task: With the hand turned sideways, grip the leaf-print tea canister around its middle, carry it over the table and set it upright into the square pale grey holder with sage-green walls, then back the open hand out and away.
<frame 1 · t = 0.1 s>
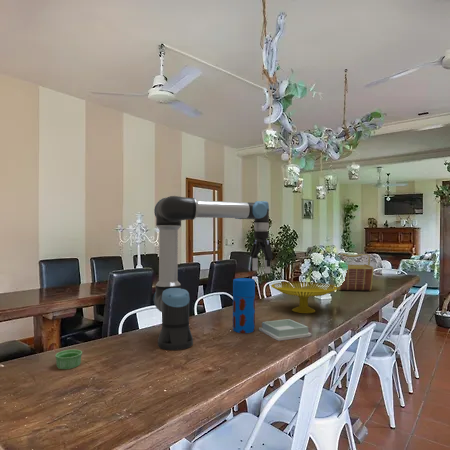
hand: (261, 271, 185), 28 cm above the table, tool pointing down, fingers open, 13 cm apart
ramekin: (68, 366, 130), on the table
yellow pedestal fruit bowl: (303, 310, 219), on the table
picnic basket: (352, 289, 298), on the table
holder: (284, 333, 171), on the table
leaf-print tea canister: (243, 330, 176), on the table
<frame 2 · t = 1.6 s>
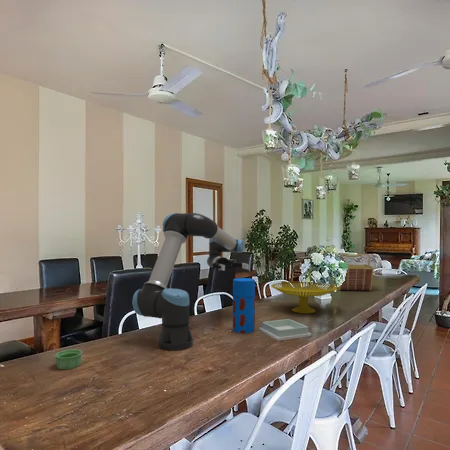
hand: (236, 267, 185), 30 cm above the table, tool horizontal, fingers open, 13 cm apart
nothing on the table moved.
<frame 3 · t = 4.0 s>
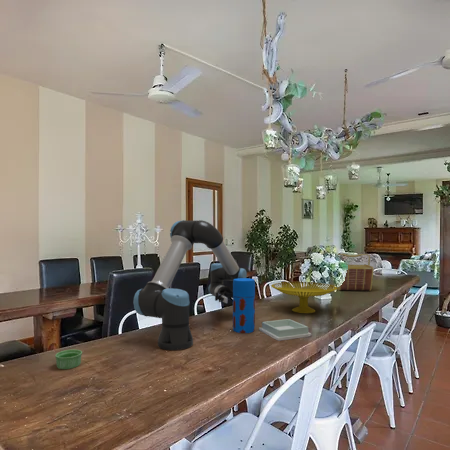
hand: (239, 299, 182), 14 cm above the table, tool horizontal, fingers open, 13 cm apart
nothing on the table moved.
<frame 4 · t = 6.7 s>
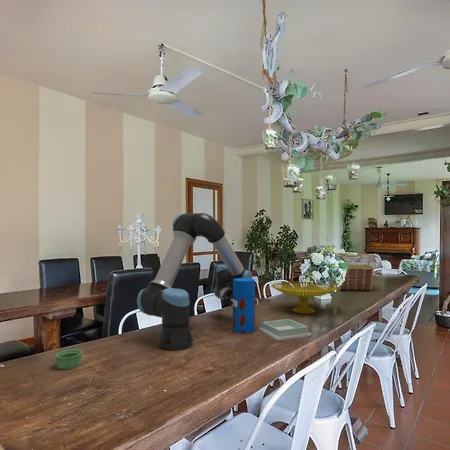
hand: (247, 303, 172), 14 cm above the table, tool horizontal, fingers closed on leaf-print tea canister, 11 cm apart
leaf-print tea canister: (243, 330, 176), on the table, touching gripper
everything else where it was.
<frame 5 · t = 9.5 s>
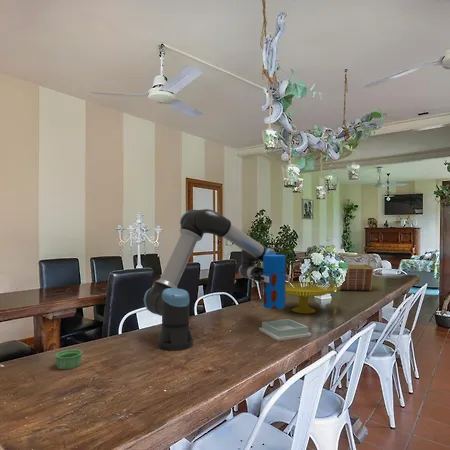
hand: (278, 279, 170), 26 cm above the table, tool horizontal, fingers closed on leaf-print tea canister, 11 cm apart
leaf-print tea canister: (274, 307, 173), point 12 cm above the table, touching gripper
everything else where it was.
when the fingers open (16 cm above the table, at t = 12.8 s): leaf-print tea canister drops 1 cm, resting on holder.
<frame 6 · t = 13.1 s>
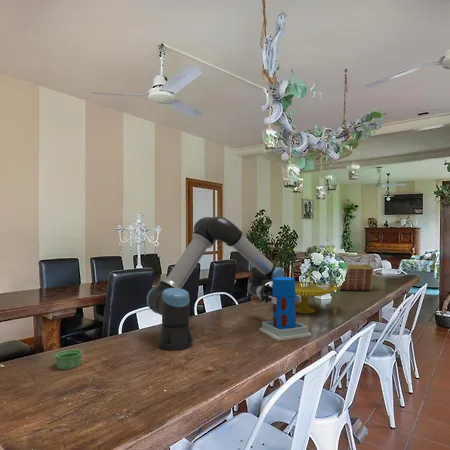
hand: (288, 300, 168), 16 cm above the table, tool horizontal, fingers open, 13 cm apart
leaf-print tea canister: (284, 330, 171), point 1 cm above the table, touching holder
everything else where it was.
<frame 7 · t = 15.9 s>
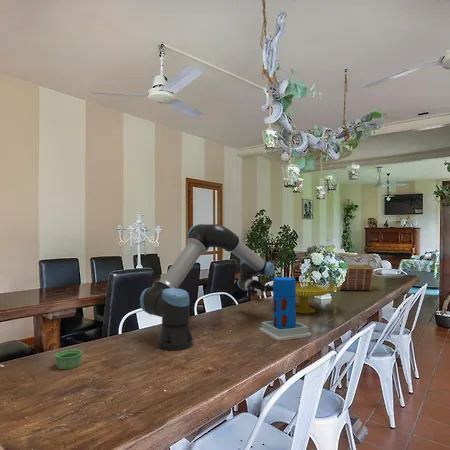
hand: (272, 292, 181), 18 cm above the table, tool horizontal, fingers open, 13 cm apart
nothing on the table moved.
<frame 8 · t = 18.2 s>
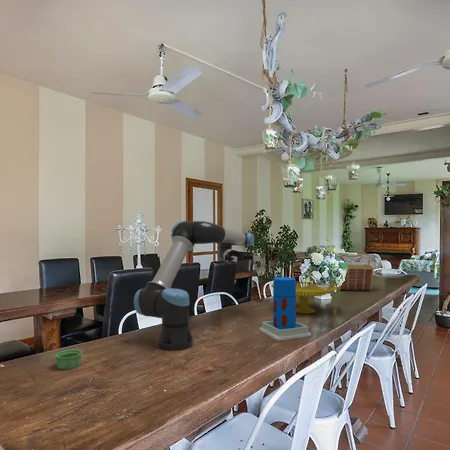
hand: (248, 259, 190), 34 cm above the table, tool horizontal, fingers open, 13 cm apart
nothing on the table moved.
at the end: leaf-print tea canister 0.1 cm off-centre on the holder, point 1.0 cm above the holder's base; leaf-print tea canister tilted 0°; the gripper is holding nothing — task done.
